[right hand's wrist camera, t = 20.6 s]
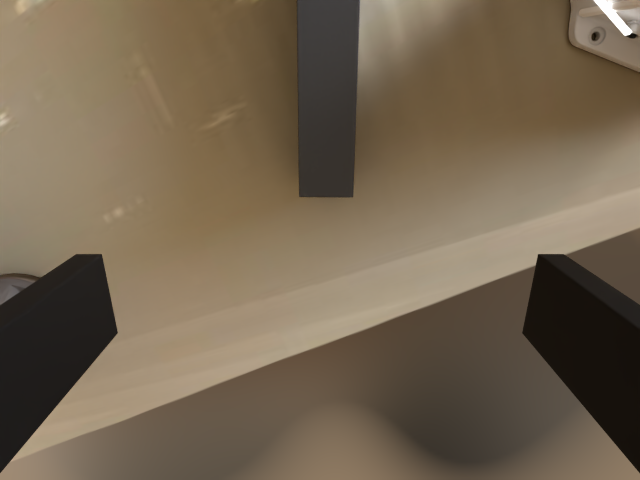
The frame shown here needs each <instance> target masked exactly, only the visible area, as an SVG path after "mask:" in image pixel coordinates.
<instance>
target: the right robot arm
mask: <svg viewBox="0 0 640 480" xmlns="http://www.w3.org/2000/svg"><path fill="white" fill-rule="evenodd" d="M117 333H118V332H117V327H116V322H115V317H114V312H113V307H112V302H111V297H110V293H109V288H108V283H107V278H106V273H105V268H104V263H103V258H102V254H76V255H74V256H73V257H71V258H70V259H68V260H67V261H65V262H64V263H62V264H61V265H59V266H58V267H56V268H55V269H53V270H52V271H50V272H49V273H47V274H46V275H44V276H43V277H41V278H38V277H35V276H31V275H26V274H6V275H1V276H0V473H1V472H2V470H3V469H4V468H5V467H6V466H7V464H8V463H9V462H10V461H11V460H12V458H13V457H14V456H15V455H16V454H17V452H18V451H19V450H20V449H21V448H22V446H23V445H24V444H25V443H26V442H27V441H28V439H29V438H30V437H31V436H32V435H33V433H34V432H35V431H36V430H37V429H38V427H39V426H40V425H41V424H42V423H43V421H44V420H45V419H46V418H47V417H48V415H49V414H50V413H51V412H52V411H53V410H54V408H55V407H56V406H57V405H58V404H59V402H60V401H61V400H62V399H63V398H64V396H65V395H66V394H67V393H68V392H69V390H70V389H71V388H72V387H73V386H74V384H75V383H76V382H77V381H78V380H79V379H80V377H81V376H82V375H83V374H84V373H85V371H86V370H87V369H88V368H89V367H90V365H91V364H92V363H93V362H94V361H95V359H96V358H97V357H98V356H99V355H100V353H101V352H102V351H103V350H104V349H105V348H106V346H107V345H108V344H109V343H110V342H111V340H112V339H113V338H114V337H115V336H116V334H117ZM522 333H523V334H524V336H525V337H526V338H527V339H528V340H529V342H530V343H531V344H532V345H533V346H534V347H535V349H536V350H537V351H538V352H539V353H540V355H541V356H542V357H543V358H544V359H545V361H546V362H547V363H548V364H549V365H550V367H551V368H552V369H553V370H554V371H555V373H556V374H557V375H558V376H559V377H560V378H561V380H562V381H563V382H564V383H565V384H566V386H567V387H568V388H569V389H570V390H571V392H572V393H573V394H574V395H575V396H576V398H577V399H578V400H579V401H580V402H581V404H582V405H583V406H584V407H585V408H586V410H587V411H588V412H589V413H590V414H591V415H592V417H593V418H594V419H595V420H596V421H597V423H598V424H599V425H600V426H601V427H602V429H603V430H604V431H605V432H606V433H607V435H608V436H609V437H610V438H611V439H612V441H613V442H614V443H615V444H616V445H617V446H618V448H619V449H620V450H621V451H622V452H623V454H624V455H625V456H626V457H627V458H628V460H629V461H630V462H631V463H632V464H633V466H634V467H635V468H636V469H637V470H638V471H639V473H640V305H639V304H638V303H636V302H635V301H633V300H632V299H630V298H628V297H627V296H625V295H624V294H623V293H621V292H619V291H618V290H616V289H615V288H614V287H612V286H610V285H609V284H607V283H606V282H605V281H603V280H601V279H600V278H599V277H597V276H596V275H594V274H593V273H591V272H589V271H588V270H587V269H585V268H584V267H582V266H581V265H579V264H577V263H576V262H574V261H573V260H572V259H570V258H569V257H567V256H566V255H564V254H538V258H537V263H536V268H535V273H534V278H533V283H532V288H531V292H530V298H529V302H528V307H527V312H526V317H525V322H524V327H523V332H522Z"/></svg>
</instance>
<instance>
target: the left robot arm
mask: <svg viewBox="0 0 640 480" xmlns="http://www.w3.org/2000/svg"><path fill="white" fill-rule="evenodd" d="M570 3H571V15H570V22H569V33H568V35H569V40H570V42H571V44H572V45H574V46H576V47H578V48H580V49H583V50H585V51H588V52H590V53H593V54H595V55H598V56H600V57H603V58H605V59H608V60H610V61H613V62H615V63H617V64H620V65H622V66H625V67H627V68H630V69H632V70H635V71H637V72H640V0H570ZM593 33H595V35H596V37H595V40H594V41H593V40H592V39H591V36H592V34H593Z"/></svg>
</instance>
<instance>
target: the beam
mask: <svg viewBox="0 0 640 480" xmlns="http://www.w3.org/2000/svg"><path fill="white" fill-rule="evenodd" d="M359 16H360V0H297V51H298V134H299V197H353V185H354V156H355V128H356V100H357V72H358V44H359Z"/></svg>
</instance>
